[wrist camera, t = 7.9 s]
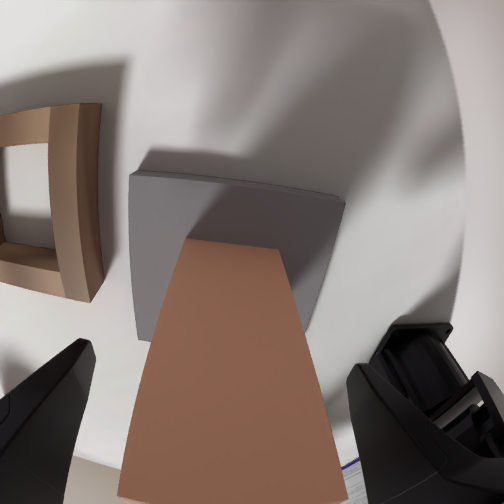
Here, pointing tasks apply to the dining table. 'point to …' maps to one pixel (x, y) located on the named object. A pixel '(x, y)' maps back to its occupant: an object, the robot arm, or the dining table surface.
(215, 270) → the terracotta peg
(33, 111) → the walnut socket
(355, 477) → the supplement box
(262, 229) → the rubber pad
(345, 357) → the dining table surface
